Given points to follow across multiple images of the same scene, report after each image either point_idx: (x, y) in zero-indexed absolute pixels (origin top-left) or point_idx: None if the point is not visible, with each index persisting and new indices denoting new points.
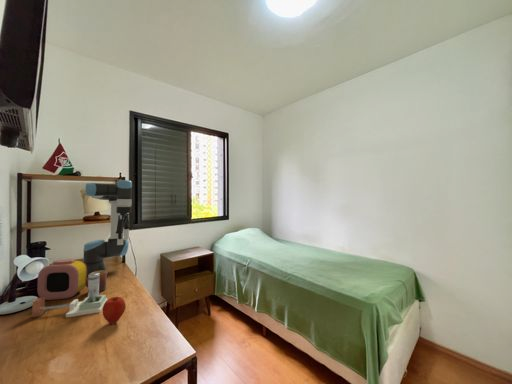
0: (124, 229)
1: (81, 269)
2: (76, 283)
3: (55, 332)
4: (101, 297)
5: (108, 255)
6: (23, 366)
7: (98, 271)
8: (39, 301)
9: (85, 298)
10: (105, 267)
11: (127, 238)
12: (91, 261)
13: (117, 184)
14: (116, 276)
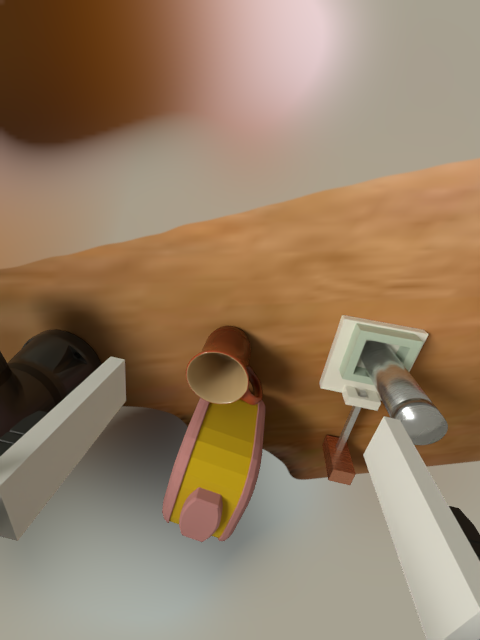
0: (10, 532)
1: (228, 445)
2: (263, 421)
3: (465, 405)
4: (378, 341)
5: (3, 363)
6: None
7: (190, 379)
8: (354, 474)
9: (352, 380)
10: (43, 342)
11: (114, 377)
12: (51, 405)
13: None
14: (107, 296)
